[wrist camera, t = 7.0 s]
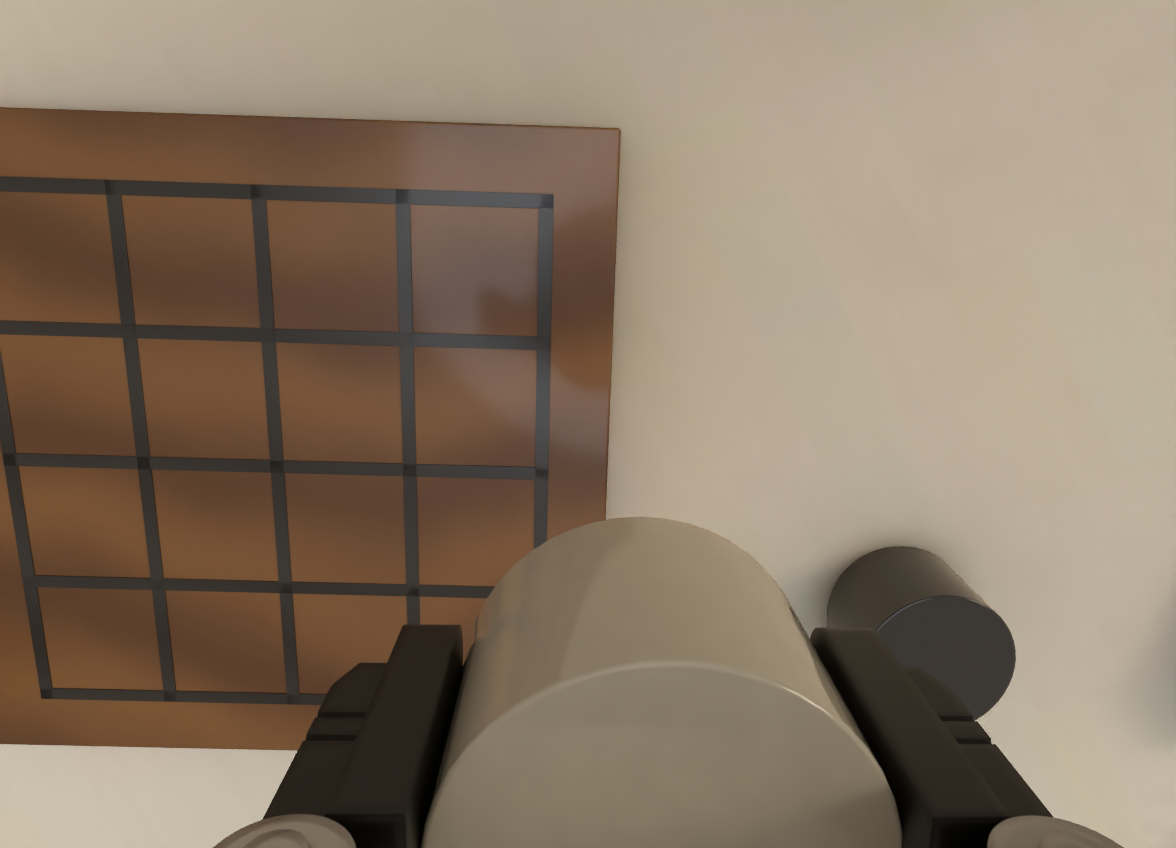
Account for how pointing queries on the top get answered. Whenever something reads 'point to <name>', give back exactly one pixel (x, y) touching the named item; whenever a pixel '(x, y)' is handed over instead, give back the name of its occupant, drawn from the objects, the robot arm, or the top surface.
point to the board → (281, 402)
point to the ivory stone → (650, 708)
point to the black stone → (928, 622)
